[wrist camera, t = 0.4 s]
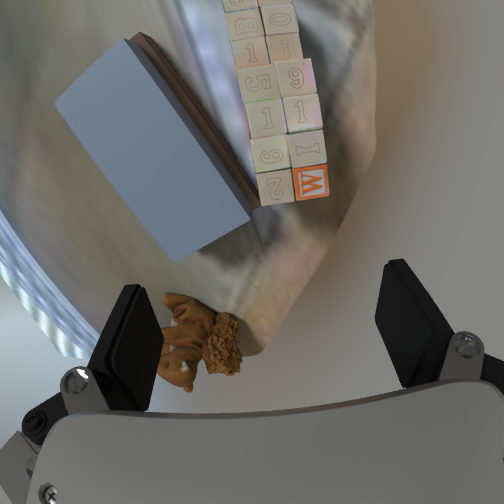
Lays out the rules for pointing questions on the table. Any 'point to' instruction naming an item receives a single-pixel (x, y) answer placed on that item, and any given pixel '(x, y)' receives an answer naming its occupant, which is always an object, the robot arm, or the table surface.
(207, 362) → the stuffed squirrel
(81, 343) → the table surface
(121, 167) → the slate-blue tower block
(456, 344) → the robot arm
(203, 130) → the walnut tower block
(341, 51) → the table surface
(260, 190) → the stack of blocks
